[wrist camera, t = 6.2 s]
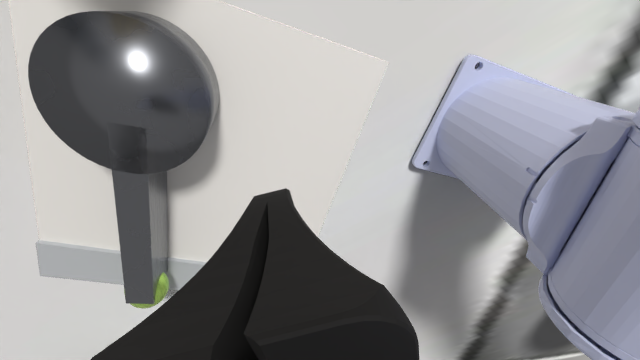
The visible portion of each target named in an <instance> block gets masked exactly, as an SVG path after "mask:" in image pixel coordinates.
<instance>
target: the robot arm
mask: <svg viewBox="0 0 640 360" xmlns="http://www.w3.org/2000/svg"><path fill="white" fill-rule="evenodd" d="M478 62H479V67H478V68H477V69H475V65H476V64H477V63H478ZM425 161H427V163H426V164H424V165H423V163H424V162H425ZM412 164H413V165H414V166H415V167H416V168H419V169H423V170H427V171H430V172H434V173H438V174H442V175H446V176H450V177H453V178H457V179H460V180H461V181H462V182H463V183H464V184H465V185H467V186H468V187H469V188H470V189H471V190H472V191H473V192H474V193H475V194H476V195H478V196H479V197H480V198H481V199H482V200H483V201H484V202H485V203H486V204H487V205H489V206H490V207H491V208H492V209H493V210H494V211H495V212H496V213H497V214H498V215H499V216H501V217H502V218H503V219H504V220H505V221H506V222H507V223H508V224H509V225H510V226H512V227H513V228H514V229H515V230H516V231H517V232H518V233H519V234H520V235H521V236H523V237H524V238H525V239H526V240H527V241H528V243H529V248H528V252H527V254H526V257H527V258H528V259H529V260H530V261H531V262H532V263H533V264H534V265H535V266H536V267H537V268H538V269H539V270H540V271H541V272H542V273H543V274H544V275H543V276H542V278H541V280H540V282H539V289H538V290H539V297H540V300H541V303H542V305H543V307H544V309H545V311H546V313H547V315H548V316H549V318H550V319H551V320H552V322H553V323H554V324H555V326H556V327H557V328H558V329H559V330H560V331H561V332H562V334H563V335H564V336H565V337H566V338H567V339H568V340H569V341H570V342H571V343H572V344H574V345H575V346H576V347H577V348H578V349H579V350H580V351H581V352H583V353H584V354H585V355H586V356H588V357H589V358H590V359H592V360H640V107H639V109H638V110H637V112H636V113H633V112H630V111H626V110H623V109H619V108H616V107H612V106H609V105H605V104H602V103H598V102H595V101H591V100H588V99H584V98H581V97H577V96H575V95H573V94H571V93H568V92H566V91H563V90H561V89H558V88H556V87H553V86H551V85H548V84H546V83H543V82H541V81H538V80H536V79H533V78H531V77H528V76H526V75H523V74H521V73H518V72H516V71H514V70H511V69H509V68H506V67H504V66H501V65H499V64H496V63H494V62H491V61H489V60H486V59H484V58H481V57H479V56H476V55H468V56H466V57H465V58H464V60H463V61H462V63H461V65H460V67H459V69H458V71H457V73H456V75H455V77H454V79H453V81H452V83H451V85H450V87H449V88H448V90H447V92H446V94H445V96H444V98H443V100H442V102H441V104H440V106H439V108H438V110H437V112H436V114H435V116H434V118H433V120H432V122H431V124H430V126H429V128H428V130H427V131H426V133H425V135H424V137H423V139H422V141H421V143H420V145H419V147H418V149H417V151H416V153H415V155H414V157H413V159H412ZM91 360H419V345H418V339H417V335H416V332H415V330H414V328H413V326H412V324H411V322H410V321H409V319H408V317H407V316H406V314H405V313H404V311H403V310H402V308H401V307H400V305H399V304H398V303H397V301H396V300H395V299H394V297H393V296H392V295H391V294H390V292H389V291H388V290H387V289H386V288H385V286H384V285H382V284H380V283H378V282H376V281H375V280H373V279H371V278H369V277H368V276H366V275H364V274H363V273H361V272H360V271H358V270H357V269H355V268H354V267H352V266H351V265H349V264H348V263H347V262H345V261H344V260H343V259H342V258H340V257H339V256H338V255H336V254H335V253H334V252H333V251H331V250H330V249H329V248H328V247H327V246H326V245H325V244H324V243H323V242H322V241H321V240H320V239H319V238H318V237H317V236H316V235H315V234H314V233H313V231H312V230H311V229H310V228H309V227H308V225H307V224H306V223H305V221H304V220H303V219H302V217H301V216H300V214H299V213H298V211H297V210H296V208H295V206H294V203H293V200H292V196H291V193H290V190H288V189H286V188H285V189H281V190H277V191H273V192H269V193H265V194H261V195H257V196H254V197H253V199H252V200H251V202H250V203H249V205H248V206H247V208H246V210H245V211H244V213H243V214H242V216H241V218H240V219H239V221H238V222H237V224H236V225H235V227H234V228H233V230H232V231H231V232H230V234H229V235H228V236H227V238H226V239H225V240H224V242H223V243H222V244H221V246H220V247H219V248H218V250H217V251H216V252H215V253H214V255H213V256H212V257H211V258H210V259H209V260H208V262H207V263H206V264H205V265H204V266H203V267H202V268H201V269H200V270H199V271H198V272H197V273H196V274H195V276H193V277H192V278H191V279H190V280H189V281H188V282H187V283H186V284H185V285H184V286H183V287H182V288H181V289H180V290H179V291H178V292H177V293H176V294H175V295H174V296H172V297H171V298H170V299H169V300H168V301H167V302H165V303H164V304H163V305H162V306H161V307H160V308H158V309H157V310H156V311H155V312H154V313H152V314H151V315H150V316H149V317H147V318H146V319H145V320H144V321H142V322H141V323H140V324H138V325H137V326H136V327H135V328H133V329H132V330H131V331H129V332H128V333H126V334H125V335H124V336H122V337H121V338H119V339H118V340H117V341H115V342H114V343H112V344H111V345H110V346H108V347H107V348H105V349H104V350H103V351H101V352H100V353H98V354H97V355H95V356H94V357H92V359H91Z"/></svg>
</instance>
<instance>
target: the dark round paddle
mask: <svg viewBox="0 0 640 360" xmlns="http://www.w3.org/2000/svg"><path fill="white" fill-rule="evenodd" d="M28 79H29V86H30V90H31V93H32V97H33V99H34V102H35V104H36V106H37V109H38V110H39V112H40V114H41V116H42V117H43V119H44V120H45V122H46V123H47V124H48V126H49V127H50V128H51V130H52V131H53V132H54V133H55V134H56V135H57V136H58V137H59V138H60V139H61V140H62V141H63V142H64V143H65V144H66V145H67V146H69V147H70V148H71V149H73V150H74V151H75V152H77V153H78V154H80V155H81V156H83V157H85V158H86V159H88V160H90V161H92V162H94V163H96V164H98V165H101V166H103V167H106V168H109V169H112V177H113V187H114V196H115V205H116V215H117V224H118V233H119V243H120V252H121V261H122V271H123V280H124V293H125V299H126V303H130V304H131V305H132V306H134V307H137V308H149V307H152V306H155V305H156V304H158V303H159V302H161V301H162V300H163V299H164V297H165V296H166V294H167V292H168V289H169V280H168V277H167V275H166V273H167V271H168V214H167V170H170V169H173V168H175V167H177V166H179V165H181V164H182V163H184V162H186V161H187V160H188V159H189V158H191V157H192V156H193V155H194V153H195V152H196V151H197V150H198V149H199V147H200V146H201V144H202V142H203V141H204V139H205V137H206V135H207V133H208V131H209V129H210V128H211V126H212V124H213V122H214V120H215V118H216V115H217V112H218V108H219V85H218V81H217V77H216V74H215V71H214V69H213V66H212V64H211V62H210V61H209V59H208V57H207V55H206V54H205V53H204V51H203V50H202V48H201V47H200V46H199V45H198V44H197V43H196V41H195V40H194V39H192V38H191V37H190V36H189V35H188V34H187V33H186V32H184V31H183V30H182V29H180V28H179V27H178V26H176V25H174V24H172V23H171V22H169V21H167V20H165V19H163V18H160V17H158V16H155V15H152V14H148V13H143V12H137V11H88V12H79V13H75V14H72V15H68V16H65V17H63V18H61V19H59V20H57V21H55V22H54V23H52V24H51V25H50V26H48V27H47V28H46V29H45V30H44V31H43V32H42V33H41V34H40V36H39V37H38V39H37V40H36V42H35V44H34V46H33V48H32V51H31V53H30V58H29V64H28Z"/></svg>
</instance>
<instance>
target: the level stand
mask: <svg viewBox="0 0 640 360" xmlns="http://www.w3.org/2000/svg"><path fill="white" fill-rule="evenodd" d="M8 2H9V10H10V18H11V26H12V34H13V41H14V49H15V57H16V65H17V73H18V81H19V88H20V96H21V104H22V112H23V120H24V128H25V135H26V143H27V151H28V159H29V167H30V174H31V182H32V190H33V198H34V206H35V214H36V221H37V229H38V237H39V240H38V241H37V242H36V249H37V256H38V264H39V271H40V276H45V277H55V278H64V279H73V280H83V281H92V282H102V283H111V284H121V285H124V280H123V271H122V261H121V252H120V243H119V233H118V224H117V215H116V205H115V196H114V187H113V177H112V169H109V168H106V167H103V166H101V165H98V164H96V163H94V162H92V161H90V160H88V159H86V158H85V157H83V156H81V155H80V154H78V153H77V152H75V151H74V150H73V149H71V148H70V147H69V146H67V145H66V144H65V143H64V142H63V141H62V140H61V139H60V138H59V137H58V136H57V135H56V134H55V133H54V132H53V131H52V130H51V128H50V127H49V126H48V124H47V123H46V122H45V120H44V119H43V117H42V116H41V114H40V112H39V110H38V109H37V106H36V104H35V102H34V99H33V97H32V93H31V90H30V86H29V79H28V64H29V58H30V53H31V51H32V48H33V46H34V44H35V42H36V40H37V39H38V37H39V36H40V34H41V33H42V32H43V31H44V30H45V29H46V28H47V27H48V26H50V25H51V24H52V23H54V22H55V21H57V20H59V19H61V18H63V17H65V16H68V15H72V14H75V13H79V12H88V11H137V12H143V13H148V14H152V15H155V16H158V17H160V18H163V19H165V20H167V21H169V22H171V23H172V24H174V25H176V26H178V27H179V28H180V29H182V30H183V31H184V32H186V33H187V34H188V35H189V36H190V37H191V38H192V39H194V40H195V41H196V43H197V44H198V45H199V46H200V47H201V48H202V50H203V51H204V53H205V54H206V55H207V57H208V59H209V61H210V62H211V64H212V66H213V69H214V71H215V74H216V77H217V81H218V85H219V108H218V112H217V115H216V118H215V120H214V122H213V124H212V126H211V128H210V129H209V131H208V133H207V135H206V137H205V139H204V141H203V142H202V144H201V146H200V147H199V149H198V150H197V151H196V152H195V153H194V155H193V156H192V157H191V158H189V159H188V160H187V161H186V162H184V163H182V164H181V165H179V166H177V167H175V168H173V169H170V170H167V214H168V271H167V273H166V275H167V277H168V280H169V289H168V290H178V291H179V290H180V289H181V288H182V287H183V286H184V285H185V284H186V283H187V282H188V281H189V280H190V279H191V278H192V277H193V276H195V274H196V273H197V272H198V271H199V270H200V269H201V268H202V267H203V266H204V265H205V264H206V263H207V262H208V260H209V259H210V258H211V257H212V256H213V255H214V253H215V252H216V251H217V250H218V248H219V247H220V246H221V244H222V243H223V242H224V240H225V239H226V238H227V236H228V235H229V234H230V232H231V231H232V230H233V228H234V227H235V225H236V224H237V222H238V221H239V219H240V218H241V216H242V214H243V213H244V211H245V210H246V208H247V206H248V205H249V203H250V202H251V200H252V199H253V197H254V196H257V195H261V194H265V193H269V192H273V191H277V190H281V189H285V188H286V189H288V190H290V193H291V196H292V200H293V203H294V206H295V208H296V210H297V211H298V213H299V214H300V216H301V217H302V219H303V220H304V221H305V223H306V224H307V225H308V227H309V228H310V229H311V230H312V231H313V233H314V234H315V235H316V236H317V237H318V236H319V234H320V231H321V229H322V226H323V224H324V221H325V219H326V217H327V214H328V212H329V209H330V207H331V204H332V202H333V199H334V197H335V194H336V192H337V190H338V187H339V185H340V182H341V180H342V177H343V175H344V172H345V170H346V167H347V165H348V163H349V160H350V158H351V155H352V153H353V150H354V148H355V145H356V143H357V140H358V138H359V136H360V133H361V131H362V128H363V126H364V123H365V121H366V118H367V116H368V113H369V111H370V109H371V106H372V104H373V101H374V99H375V96H376V94H377V91H378V89H379V86H380V84H381V82H382V79H383V77H384V74H385V72H386V69H387V67H388V64H389V62H387V61H385V60H382V59H380V58H377V57H375V56H372V55H369V54H366V53H363V52H361V51H358V50H355V49H352V48H350V47H347V46H344V45H341V44H339V43H336V42H333V41H330V40H327V39H325V38H322V37H319V36H316V35H314V34H311V33H308V32H305V31H303V30H300V29H297V28H294V27H292V26H289V25H286V24H283V23H280V22H278V21H275V20H272V19H269V18H267V17H264V16H261V15H258V14H256V13H253V12H250V11H247V10H244V9H242V8H239V7H236V6H233V5H231V4H228V3H225V2H222V1H220V0H8Z"/></svg>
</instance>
